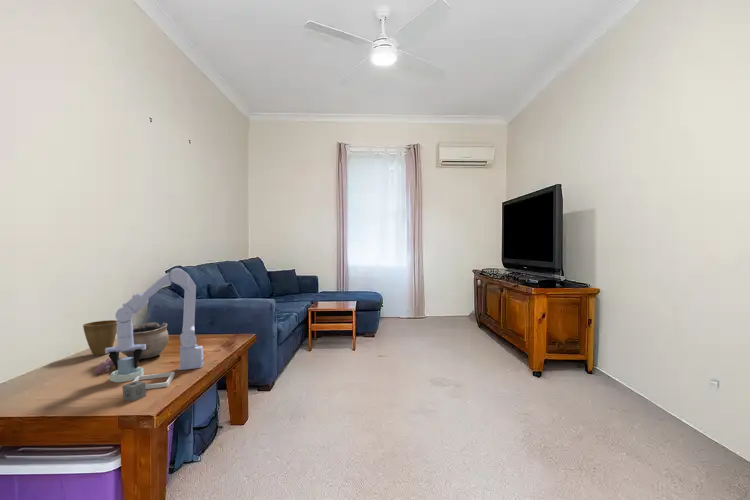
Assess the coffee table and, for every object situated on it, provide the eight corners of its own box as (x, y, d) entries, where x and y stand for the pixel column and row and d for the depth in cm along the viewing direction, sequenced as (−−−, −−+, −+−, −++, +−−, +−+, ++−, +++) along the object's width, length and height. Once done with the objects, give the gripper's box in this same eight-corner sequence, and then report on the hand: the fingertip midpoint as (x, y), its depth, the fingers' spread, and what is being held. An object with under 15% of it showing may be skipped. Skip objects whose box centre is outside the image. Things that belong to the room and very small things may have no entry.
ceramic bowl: (178, 354, 200) (177, 324, 200) (133, 366, 182) (131, 333, 182) (154, 349, 212) (152, 320, 212) (109, 360, 194) (107, 329, 194)
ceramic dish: (146, 371, 175) (146, 365, 175) (138, 379, 164) (138, 373, 164) (116, 374, 172) (116, 368, 172) (106, 383, 161) (106, 377, 161)
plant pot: (107, 357, 200) (105, 325, 199) (77, 358, 200) (75, 326, 199) (125, 349, 215) (124, 319, 214) (98, 350, 215) (96, 320, 214)
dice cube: (136, 394, 148) (135, 381, 148) (146, 396, 146) (145, 382, 146) (123, 399, 143) (122, 385, 143) (133, 401, 142) (132, 387, 141)
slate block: (136, 371, 170) (135, 357, 169) (127, 374, 165) (126, 360, 165) (126, 371, 170) (125, 357, 170) (118, 374, 166) (117, 360, 166)
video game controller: (100, 378, 173) (106, 363, 172) (92, 373, 174) (97, 358, 173) (119, 370, 183) (124, 357, 182) (111, 365, 183) (116, 352, 183)
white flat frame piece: (174, 375, 168) (174, 371, 168) (167, 386, 155) (167, 382, 155) (137, 379, 164) (137, 376, 164) (127, 391, 151) (127, 387, 151)
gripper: (147, 332, 173) (148, 363, 174) (108, 335, 169) (110, 367, 170) (142, 335, 166) (144, 368, 167) (102, 339, 162) (104, 372, 163)
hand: (126, 368), depth 168 cm, fingers open, 6 cm apart
